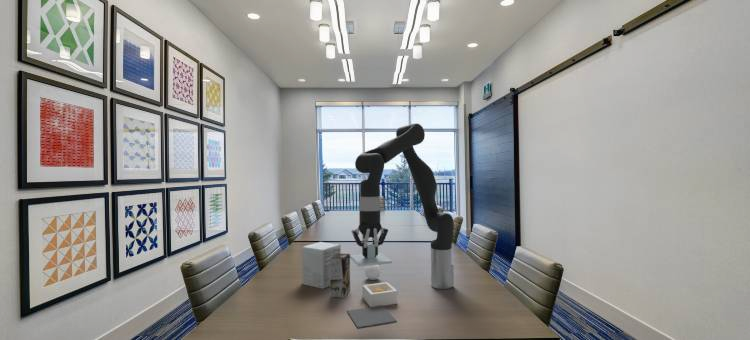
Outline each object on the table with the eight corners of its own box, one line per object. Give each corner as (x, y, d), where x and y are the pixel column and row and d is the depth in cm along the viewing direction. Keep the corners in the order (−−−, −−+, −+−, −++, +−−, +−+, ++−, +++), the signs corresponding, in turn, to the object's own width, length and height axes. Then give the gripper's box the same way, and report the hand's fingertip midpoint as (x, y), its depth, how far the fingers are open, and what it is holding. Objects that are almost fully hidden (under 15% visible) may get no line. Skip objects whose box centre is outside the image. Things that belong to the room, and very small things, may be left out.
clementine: (382, 295, 135) (382, 286, 135) (385, 298, 131) (385, 289, 131) (373, 296, 134) (373, 288, 134) (376, 300, 130) (376, 290, 130)
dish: (387, 293, 140) (387, 282, 140) (397, 303, 129) (397, 290, 129) (362, 297, 136) (362, 285, 136) (370, 307, 126) (370, 294, 126)
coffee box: (344, 298, 135) (344, 258, 136) (329, 296, 137) (329, 258, 137) (350, 290, 144) (350, 253, 145) (336, 289, 146) (336, 252, 146)
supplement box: (341, 281, 157) (341, 244, 157) (323, 289, 146) (323, 249, 146) (320, 276, 164) (320, 241, 164) (301, 284, 153) (301, 246, 153)
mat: (382, 306, 127) (382, 305, 127) (396, 321, 113) (396, 320, 113) (347, 311, 122) (347, 310, 122) (357, 328, 109) (357, 327, 109)
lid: (380, 254, 126) (380, 239, 126) (391, 263, 114) (392, 246, 114) (349, 257, 122) (349, 241, 122) (358, 266, 110) (358, 249, 110)
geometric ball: (369, 286, 158) (359, 273, 156) (373, 275, 165) (363, 263, 163) (382, 280, 155) (372, 267, 153) (385, 269, 162) (375, 257, 161)
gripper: (384, 207, 124) (384, 253, 124) (348, 208, 120) (348, 256, 119) (391, 209, 117) (392, 258, 117) (353, 210, 112) (354, 261, 112)
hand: (370, 256), depth 118 cm, fingers closed on lid, 2 cm apart
